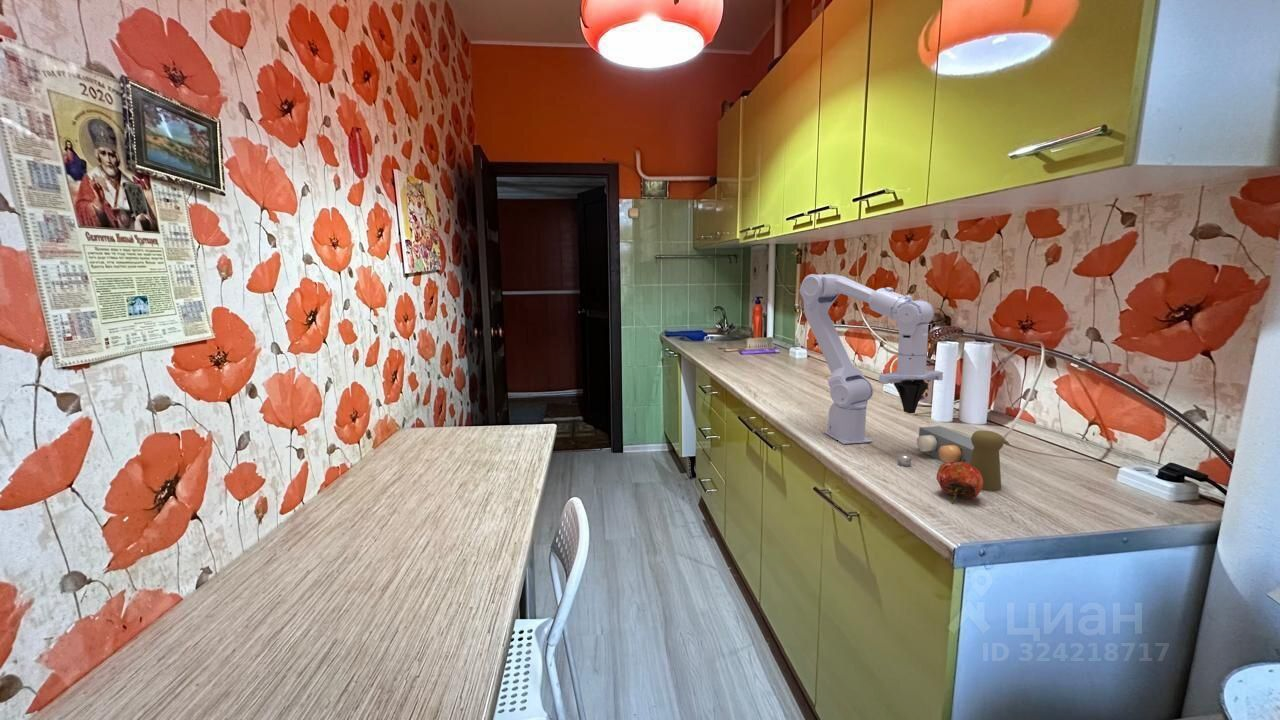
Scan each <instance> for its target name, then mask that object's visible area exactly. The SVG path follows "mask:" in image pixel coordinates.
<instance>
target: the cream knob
mask: <svg viewBox="0 0 1280 720" xmlns="http://www.w3.org/2000/svg"><path fill="white" fill-rule="evenodd" d="M916 446H917V449H918V448H919V450H918V451H920V450H921V451H920V452H922V451H923V452H922V453H924V451H935V450H936V449H937V446H938V439H937V438H935V437H934V436H933V435H925V436H919V435H918V436H917V438H916Z"/></svg>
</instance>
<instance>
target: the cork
mask: <svg viewBox="0 0 1280 720" xmlns="http://www.w3.org/2000/svg"><path fill="white" fill-rule="evenodd" d="M970 438H971V441H972V444H973V446H974V448H973V452H972V456H971V460H970V463H969V464H970V465H971V466H973V467H975V468H976V469H978V470H979V472H980V473H981V475H982V478H983V488H982V490H981V491H986V492H998V491H1001V489H1002V478H1001V477H1002V475H1001V461H1000V460H1001V459H1000V450H1001V449H1003V446H1004V443H1005V442H1004V441H1005V440H1004V437H1002V434H999V432H995V431H992V430H991V431H990V430H982V429H981V430H976V431H974V433H972V436H971V437H970Z"/></svg>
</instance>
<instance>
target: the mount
mask: <svg viewBox="0 0 1280 720" xmlns="http://www.w3.org/2000/svg"><path fill="white" fill-rule="evenodd" d="M925 435H933V436H934V437H935V438H937V439H938V446H937V449H936V450H935V451H924V452H923V451H921V450H919V448H918V447H917V450H918V451H920V452H922V453H924V454H927V455H928V456H930V457H933V458H935V459H937V460H939V461H941V462H943V461H942V460H941V458H940V456H939V449H940V447H941V446H948V445H956V446H958V447H959V448H961V449H962V458H961V460H960V461H959V462H962V460H965V462H966V463H968V464H969V463H970V460H971V456H972V452H973V448H974V446H973V444H972V441H971V437H969V436H967V435H963V434H962V433H960V432H957V431H954V430H951V429H948V428H946V427H944V426H941V425H936V426H923V427H919V430H918V437H919V436H925Z"/></svg>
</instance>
